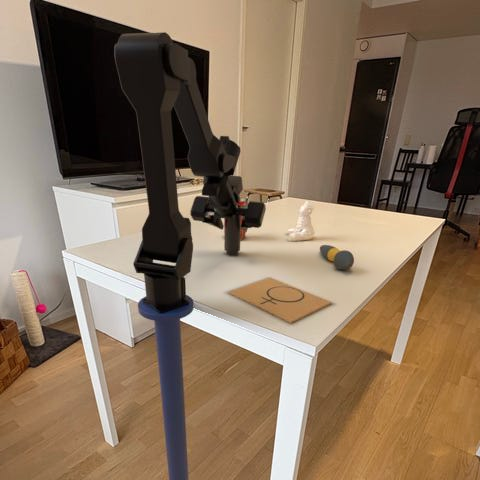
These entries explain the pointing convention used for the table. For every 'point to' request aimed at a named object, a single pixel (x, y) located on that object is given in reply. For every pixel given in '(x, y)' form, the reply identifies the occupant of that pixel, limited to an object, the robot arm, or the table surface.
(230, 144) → the robot arm
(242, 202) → the soda can
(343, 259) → the grey yellow maraca
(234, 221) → the cylinder
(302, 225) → the white creature statuette
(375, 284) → the table surface
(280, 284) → the sketch card
